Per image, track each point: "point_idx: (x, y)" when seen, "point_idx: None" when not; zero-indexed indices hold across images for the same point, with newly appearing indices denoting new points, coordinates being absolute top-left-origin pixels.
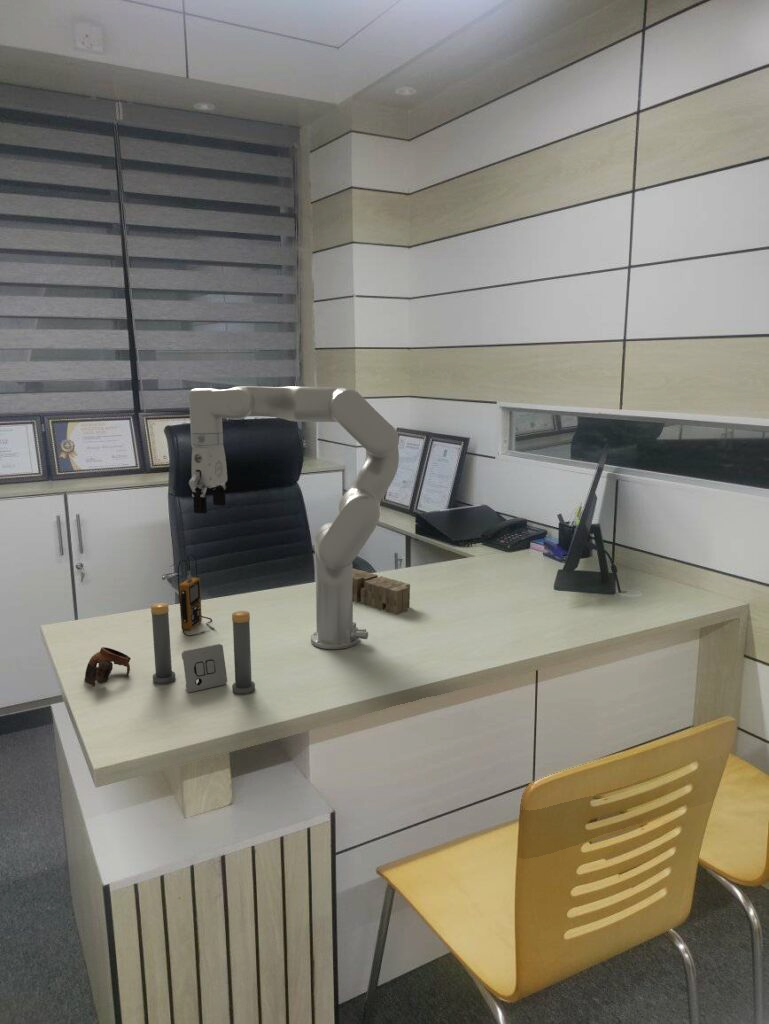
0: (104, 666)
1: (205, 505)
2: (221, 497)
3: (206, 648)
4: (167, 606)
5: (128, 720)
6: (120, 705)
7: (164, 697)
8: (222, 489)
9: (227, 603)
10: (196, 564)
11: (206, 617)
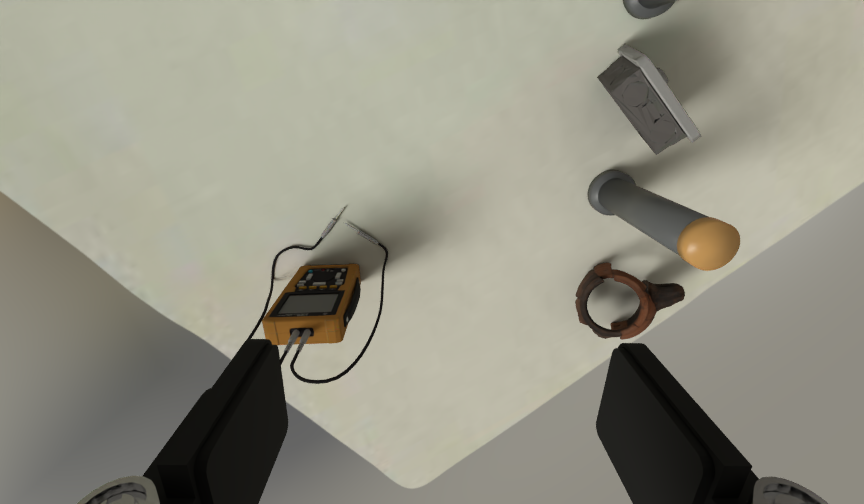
0: (679, 291)
1: (681, 390)
2: (248, 415)
3: (670, 89)
4: (719, 222)
5: (779, 167)
6: (719, 212)
7: (686, 151)
8: (157, 498)
9: (165, 265)
10: None
11: (273, 267)
